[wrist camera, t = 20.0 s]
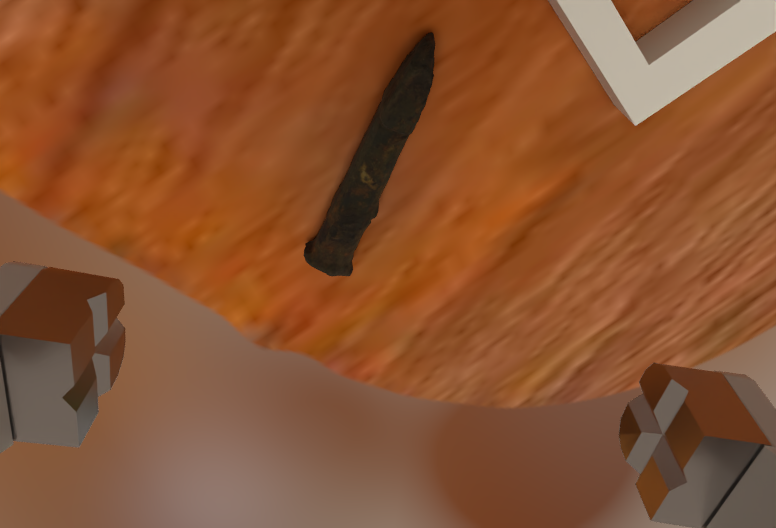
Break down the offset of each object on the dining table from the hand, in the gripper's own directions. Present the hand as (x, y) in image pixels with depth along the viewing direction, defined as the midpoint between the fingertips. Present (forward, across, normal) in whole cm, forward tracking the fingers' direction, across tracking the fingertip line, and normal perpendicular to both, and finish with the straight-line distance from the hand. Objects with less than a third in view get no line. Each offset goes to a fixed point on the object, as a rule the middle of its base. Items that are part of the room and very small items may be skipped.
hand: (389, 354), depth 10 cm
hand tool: (+38, -1, +11) cm, 39 cm away
